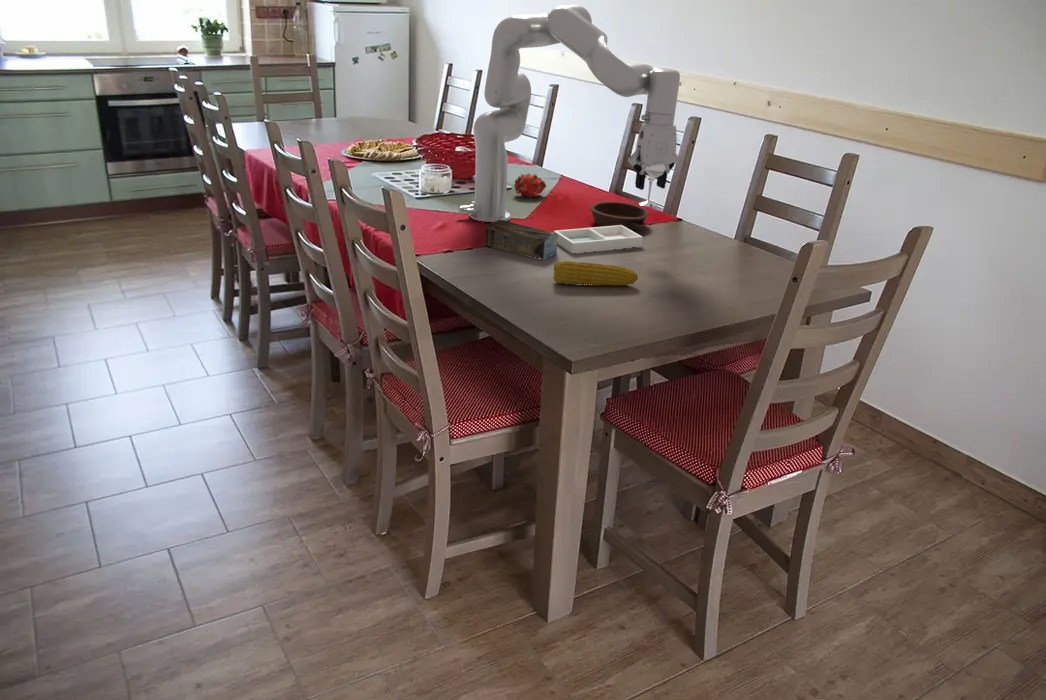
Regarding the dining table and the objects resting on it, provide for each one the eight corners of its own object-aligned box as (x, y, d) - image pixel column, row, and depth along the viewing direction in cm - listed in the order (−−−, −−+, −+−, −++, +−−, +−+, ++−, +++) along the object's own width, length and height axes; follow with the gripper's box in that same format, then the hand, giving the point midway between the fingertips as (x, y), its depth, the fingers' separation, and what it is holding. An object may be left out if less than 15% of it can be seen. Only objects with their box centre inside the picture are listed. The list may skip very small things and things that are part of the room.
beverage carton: (543, 261, 220) (545, 238, 217) (482, 247, 228) (483, 223, 226) (557, 254, 226) (559, 231, 224) (497, 240, 235) (498, 217, 232)
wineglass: (632, 204, 222) (638, 160, 217) (638, 199, 228) (644, 155, 222) (657, 209, 220) (663, 164, 215) (663, 203, 226) (669, 159, 220)
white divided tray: (572, 253, 227) (572, 243, 225) (553, 240, 236) (553, 230, 235) (641, 246, 236) (642, 236, 234) (620, 234, 245) (621, 224, 244)
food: (553, 288, 203) (555, 265, 200) (551, 280, 208) (553, 257, 205) (638, 290, 205) (641, 267, 202) (633, 282, 210) (636, 259, 207)
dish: (619, 238, 242) (621, 222, 240) (573, 218, 258) (574, 202, 256) (663, 231, 251) (665, 215, 249) (616, 212, 268) (617, 197, 265)
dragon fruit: (509, 201, 277) (541, 204, 283) (520, 192, 270) (553, 195, 275) (507, 177, 279) (539, 181, 284) (518, 167, 271) (551, 171, 277)
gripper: (638, 122, 207) (629, 193, 215) (695, 121, 214) (684, 189, 222) (623, 116, 214) (615, 185, 221) (678, 115, 220) (669, 182, 228)
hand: (650, 187), depth 222 cm, fingers closed on wineglass, 6 cm apart
